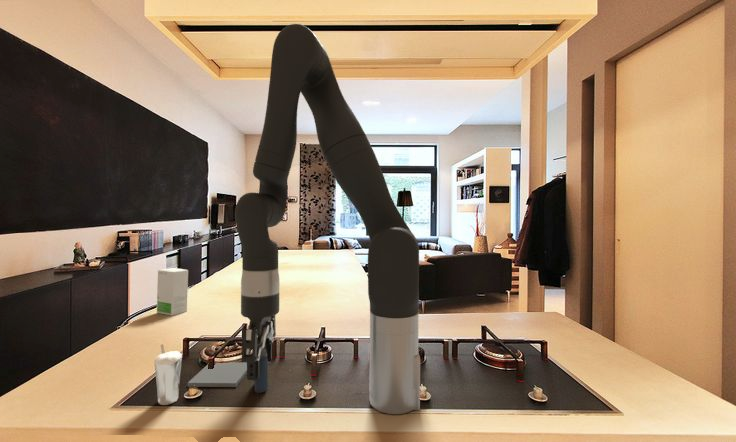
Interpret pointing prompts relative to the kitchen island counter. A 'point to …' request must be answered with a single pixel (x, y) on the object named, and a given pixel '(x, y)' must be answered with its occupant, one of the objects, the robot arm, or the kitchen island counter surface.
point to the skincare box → (172, 291)
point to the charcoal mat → (220, 375)
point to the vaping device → (262, 373)
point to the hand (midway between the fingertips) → (260, 369)
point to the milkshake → (168, 376)
